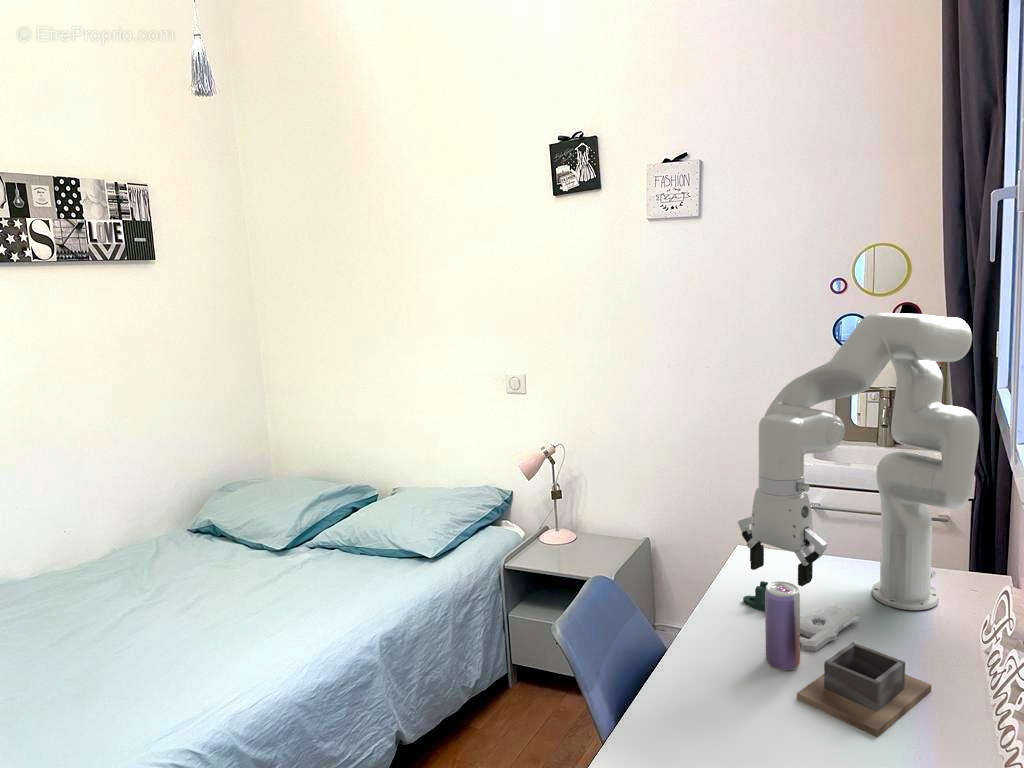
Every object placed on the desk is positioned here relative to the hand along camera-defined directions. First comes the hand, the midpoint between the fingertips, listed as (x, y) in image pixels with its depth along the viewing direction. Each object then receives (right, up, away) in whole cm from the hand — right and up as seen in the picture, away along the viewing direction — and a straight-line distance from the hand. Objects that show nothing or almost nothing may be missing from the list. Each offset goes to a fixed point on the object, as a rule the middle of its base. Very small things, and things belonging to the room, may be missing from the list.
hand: (780, 575), depth 139 cm
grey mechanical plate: (+12, -15, +14) cm, 24 cm away
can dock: (+12, -19, -8) cm, 23 cm away
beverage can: (+2, -17, +4) cm, 18 cm away
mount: (+6, -13, +25) cm, 29 cm away
